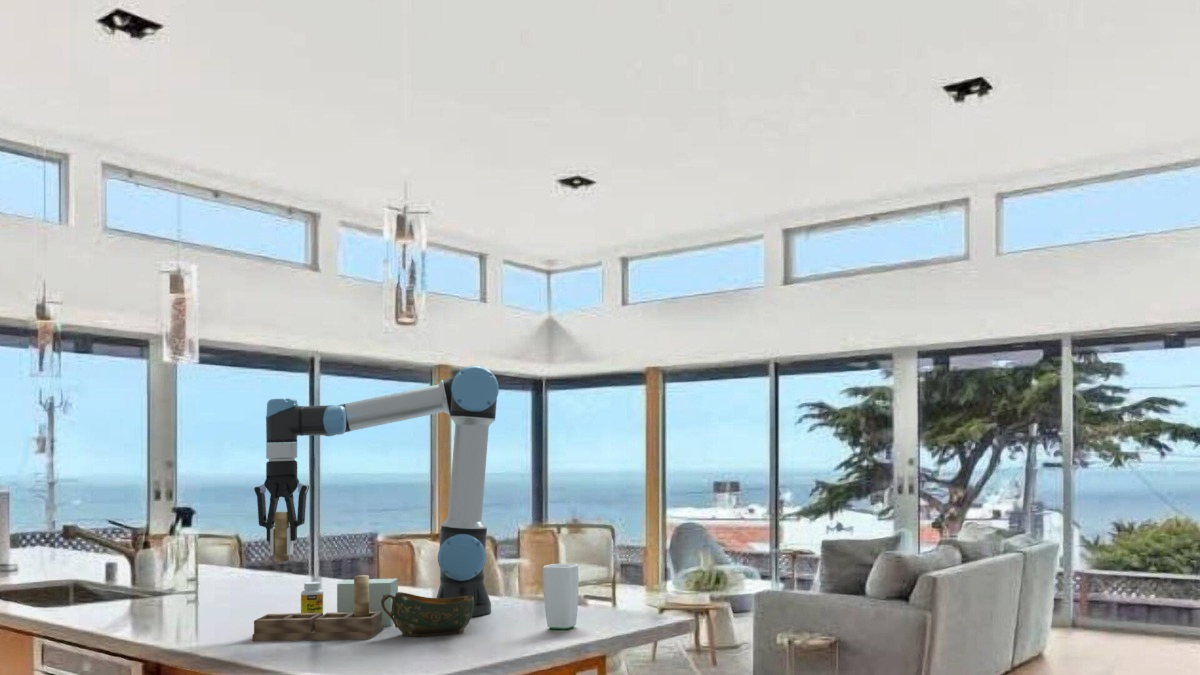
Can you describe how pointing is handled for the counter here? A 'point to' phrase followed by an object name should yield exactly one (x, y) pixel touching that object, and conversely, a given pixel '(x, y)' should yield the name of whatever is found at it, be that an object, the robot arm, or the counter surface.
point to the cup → (560, 595)
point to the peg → (281, 536)
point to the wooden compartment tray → (324, 621)
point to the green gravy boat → (429, 614)
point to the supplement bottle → (312, 598)
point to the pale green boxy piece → (375, 596)
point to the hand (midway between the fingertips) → (281, 554)
